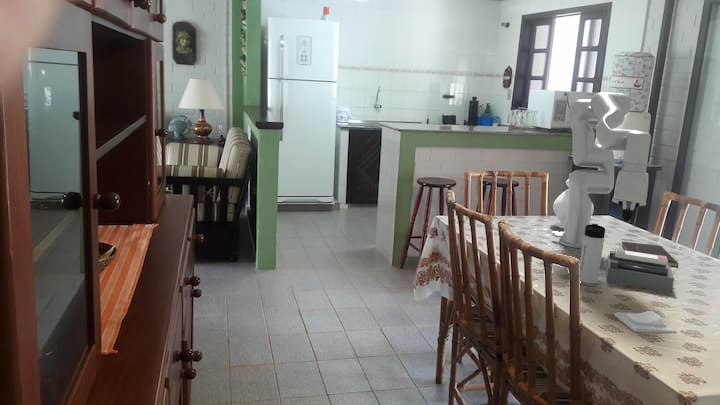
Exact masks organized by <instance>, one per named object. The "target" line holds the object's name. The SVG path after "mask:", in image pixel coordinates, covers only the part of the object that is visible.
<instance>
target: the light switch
mask: <svg viewBox="0 0 720 405" xmlns="http://www.w3.org/2000/svg"><path fill="white" fill-rule="evenodd" d="M613 316H614V317H615V318H617V319H618V320H619V321H620V322H621V323H623V324H624V325H625V326H627V327H628V328H629V329H630V330H631V331H632V332H635V333H658V334H659V333H661V334H662V333H666V334H667V333H668V334H669V333H671V334H677V333H678V332H677V331H676V330H675V329H674V328H673V327H671V326H670V325H669V324H667V323H666V322H664V321H663V319H662V317H661V315H659V314H658V313H656V312H655V311H652V310H647V311H643V312H639V313H633V312H620V311H619V312H615V313H614V314H613Z"/></svg>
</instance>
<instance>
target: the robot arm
mask: <svg viewBox="0 0 720 405" xmlns="http://www.w3.org/2000/svg"><path fill="white" fill-rule="evenodd" d="M631 107H632V100H631V98H630V96H629V95H627V94H626V93H622V92H621V93H620V92H607V91H606V92H605V91H603V92H598V93H596V94H594V95H593V96H592V97H591V98H590V99H589V98H588V99H586V98H585V99H577V100H574V101H573V102H572V103H571V104H570V107H569V111H568V120H569V125H570V128H571V133H572V161H573V164H574V165H575V166H577V167H581V168H583V167H584V168H597V170H596V169H595V170H594V169H576V170H573V171H572V172H570V173H571V174H570V173H569V174H570V176H569V175H568V179H569V187H568V189H569V199H568V207H567V215H566V222H565V229H563V231H560V232H559V231H553V230H552V237H555V238H559V239H558V243H559V244H561V245H563V246H566V247H568V248H575V249H582V246H583V240H584V234H585V227H586V225H591V218H592V216H591V213H592V204H593V201H592V200H591V197H590V196H589V194H597V195H598V194H599V195H606V194H610V193H611V192H612V191H613V189H614V191H613V192H614V193H613V197H612V199H611V202H612V203H615V204H618V205H619V206H620V207H621V208H622V214H621V218H622V219H623V222H628V223H629V222H630V220H632V216H633V211H634V210H635V209H636V208H638V207H642V206H643V207H645V206H646V205H647V198H648V192H649V191H648V190H649V173H647V168H648V167H647V166H648V160H649V154H650V146H651V142H652V141H651V140H652V136H651V134H650V133H649V132H645V131H641V130H638V129H636V130H635V129H628V128H627V129H625V128H618V127H620V126H621V125H622V124H623V122H624V120H625V116H626V115H627V114H628V113H629V112H630V110H631ZM588 121H590V122H591V121H592V122H597V123H596V126H595V131H594V129H593V128H592V126H591V125H590V124H589V122H588ZM595 137H596V139H595ZM595 140H597V141H598V144H597V143H596V142H595ZM614 151H621V152H623V159H622V162H620V163H618V162H617V168H619V169H621V170H619V171H618V173H617V177H616V180H615V154H614ZM615 181H616V182H615ZM627 202H630V205H629V207H628V206H627Z"/></svg>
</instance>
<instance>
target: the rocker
mask: <svg viewBox="0 0 720 405" xmlns="http://www.w3.org/2000/svg"><path fill="white" fill-rule="evenodd" d="M614 252H615V257H617V258H624V259H630V260H637V261H643V262H650V263H656V264H663V265H667V262H668V260H667V257H666V256H661V255H652V254H645V253H638V252H632V251H626V250H625V249H619V248H616V249H615V250H614Z"/></svg>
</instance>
